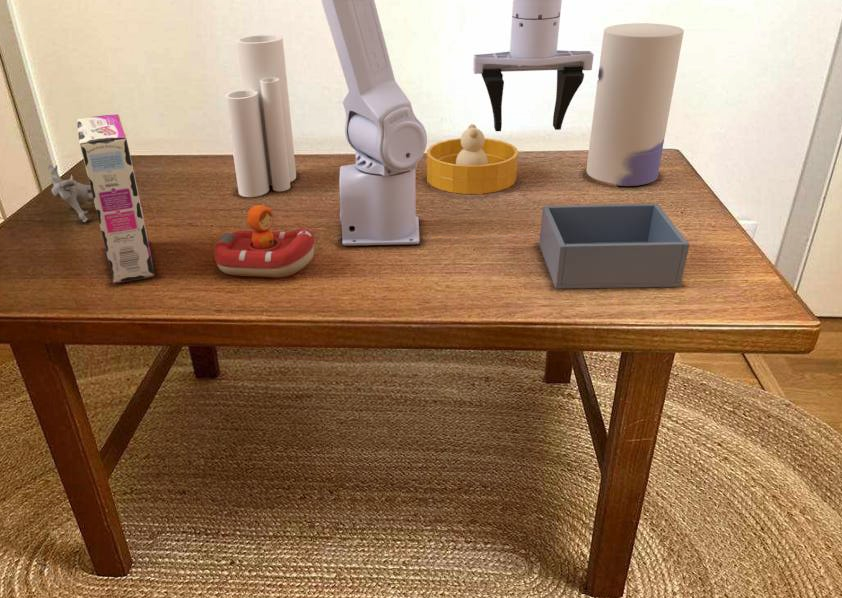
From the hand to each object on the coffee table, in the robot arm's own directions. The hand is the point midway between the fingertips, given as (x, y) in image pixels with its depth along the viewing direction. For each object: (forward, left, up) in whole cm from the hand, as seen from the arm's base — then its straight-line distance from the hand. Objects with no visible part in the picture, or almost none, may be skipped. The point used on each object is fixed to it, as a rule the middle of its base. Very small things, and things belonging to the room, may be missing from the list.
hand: (527, 128), depth 95 cm
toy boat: (-32, -20, -10) cm, 39 cm away
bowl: (-6, +7, -10) cm, 14 cm away
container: (+16, +8, -10) cm, 20 cm away
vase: (-36, +8, -10) cm, 39 cm away
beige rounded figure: (-6, +7, -9) cm, 13 cm away
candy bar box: (-49, -18, -10) cm, 53 cm away
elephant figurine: (-62, -1, -10) cm, 63 cm away
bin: (+7, -21, -10) cm, 24 cm away
